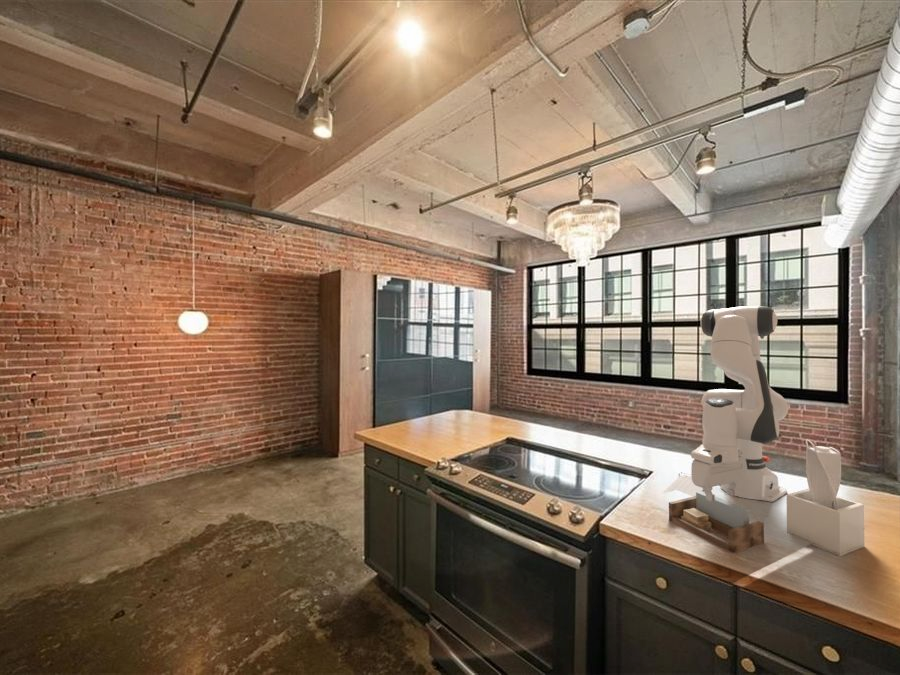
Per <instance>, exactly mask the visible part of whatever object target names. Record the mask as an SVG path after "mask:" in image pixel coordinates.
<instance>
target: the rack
mask: <svg viewBox="0 0 900 675" xmlns="http://www.w3.org/2000/svg"><path fill="white" fill-rule="evenodd" d="M691 508H695V509H696V496H689V497H687V498H686V497H685V498H682V499H679V500H678V499H677V500H673V501H670V502H668V521H670V522H672V523H674V524H676V525H678V526H680V527H682V528H684V529H685V530H688V531H690V532H692V533H693V534H695V535H698V536H700V537H701V538H703V539H705V540H707V541H709V542H711V543H713V544H715V545H717V546H718V547H721V548H723V549H725V550H727V551H729V552H731V553H733V554H734V553H737V552H740V551H742V550H743V551H744V550H746V549H749V548H752V547H755V546H757V545H758V546H759V545H761V544H763V543H765V529H764V527H765V526H764V522H762V521H760V520H758V521H754V522H751V523H750V522H749V524H747V525H744V526H741V527H737V528H733V527H730V526H728V525H726V524H724V523H722V522H719V521H717V520H715V519H713V518H711V517H708V522H711V529H713V531H716V532H718V533H720V534H723V535H725V536H726V537H727V538H728V540H725V539H723V538H721V537H718V536H717V535H715V534H713V533H711V532H710V531H705V530H703V529H701V528H699V527H697V526H695V525H693V524H691V523H688V522H686V521H684V520H682V519H681V516H683V510H686V509H691Z"/></svg>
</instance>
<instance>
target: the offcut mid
mask: <svg viewBox="0 0 900 675" xmlns="http://www.w3.org/2000/svg"><path fill="white" fill-rule="evenodd" d="M681 519H682V520H684V521H686V522H688V523H691V524H693V525H695V526H697V527H699V528H701V529H703V530H705V531H707V532H709V531H712V530H711V529H712V528H711V522H705V523H700V524H697V523H695V522H693V521H691V520H690V519H688V518H686V517H684V516H681Z"/></svg>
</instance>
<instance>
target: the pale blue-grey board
mask: <svg viewBox="0 0 900 675" xmlns="http://www.w3.org/2000/svg"><path fill="white" fill-rule="evenodd" d="M714 498H715V500H713V501H709V500H707V499H706V494H705V492H704V491H699V492H696V509H697V510H699V511H701V512H703V513H705V514H707V515H708V517H711V518H713V519H715V520H717V521H719V522H722V523H724V524H726V525H728V526H730V527H733V528H737V527H741V526H744V525H747V524H750V510H749V509H748V508H745V507H744V506H740V505H738V504H737V503H733V502H731V501H728V500H726V499H723V498H720V497H718V496H715V497H714Z"/></svg>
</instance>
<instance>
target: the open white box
mask: <svg viewBox="0 0 900 675" xmlns="http://www.w3.org/2000/svg"><path fill="white" fill-rule="evenodd" d="M810 495H811V494H810V490H809V488H806V489H802V490H798V491H795V492H792V493H789V494H787V493H786V495H785V496H786V531H787V532H786V533H787V534H790V535H792V536H794V537H798V538H799V539H802V540H804V541H808V542H810V545H812V546H815V547H817V548H819V549H822V550H825V551H826V552H827V551H828V552H829V553H832V554H834V555H836V556H839V557H841V556H844V555H846V554H849V553H851V552H854V551H856V550H859V549H862V548H865V504H863V503H861V502H859V501H858V502H857V501H854V500H850V499H848V498H844V497H840V496H838V495H837V496H836V499H837V503H838V508H839V509H838V510H835V509H832V508H829V507H826V506H823V505H820V504H817V503H814V502H811V501H810Z"/></svg>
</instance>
